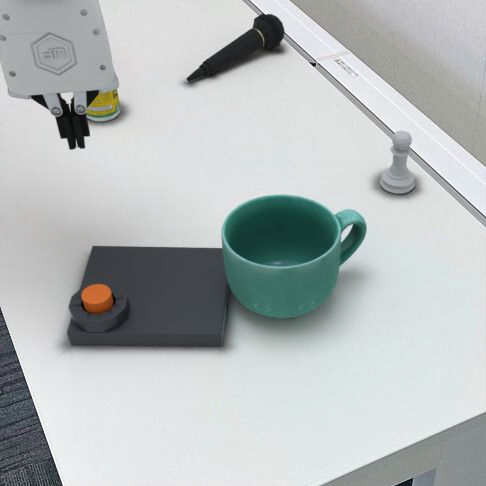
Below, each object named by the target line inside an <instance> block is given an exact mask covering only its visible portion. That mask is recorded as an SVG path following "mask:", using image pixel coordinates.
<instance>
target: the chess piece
mask: <svg viewBox="0 0 486 486" xmlns="http://www.w3.org/2000/svg"><path fill="white" fill-rule="evenodd" d="M391 139H392V140H391V141H392V145H391V146H390V148H389V150H390V153H392V163H391V164H390V166H389V167H388V168H385V169H384V170H383V171H382V172H381V177H380V179H379V184H380V186H381V187H382V189H383V190H384V191H386V192H388V193H390V194H395V195H402V194H407V193H409V192H411V191H412V190H413V189H414V188H415V185H416V184H415V175H414V173H413V172H412V171H411V170H410V169H409V168H408V166H407V161H408V157H409V155H411V154H412V152H413V150H412V147H410V146H411V145H412V142H413V138H412V135H411V133H410V132H409V131H406V130H398V131H396V132H395V133H394V134H393V136H392V138H391Z"/></svg>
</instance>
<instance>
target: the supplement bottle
mask: <svg viewBox="0 0 486 486" xmlns="http://www.w3.org/2000/svg"><path fill="white" fill-rule="evenodd" d="M121 110H122V109H121V103H120V97H119V92H118V89H116V90H113V91H109V92H106V93H103V94H102V93H101V94H98V96H97V97H96V98H95V99H94V101H93V102H92V103H91V104H90V105H89V106H88V108H87V111H86V115H87V120H88V119H89V120H91V121H94V122H106V121H111V120H113V119H115V118H117V117H118V116H119V114H120V113H121Z"/></svg>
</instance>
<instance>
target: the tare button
mask: <svg viewBox="0 0 486 486" xmlns="http://www.w3.org/2000/svg"><path fill="white" fill-rule="evenodd" d="M81 297H82V301H83V304H84V308H85V310H86V311H87V312H89V313H92V314H101V313H104V312H107V311H109V310H110V309H111V308H112V306H113V303H114V302H113V298H112V293H111V290H110V288H109V287H107V286H106V285H102V284H95V285H91V286H89V287H87V288H85V289H84V290H83V292H82V295H81Z"/></svg>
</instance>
